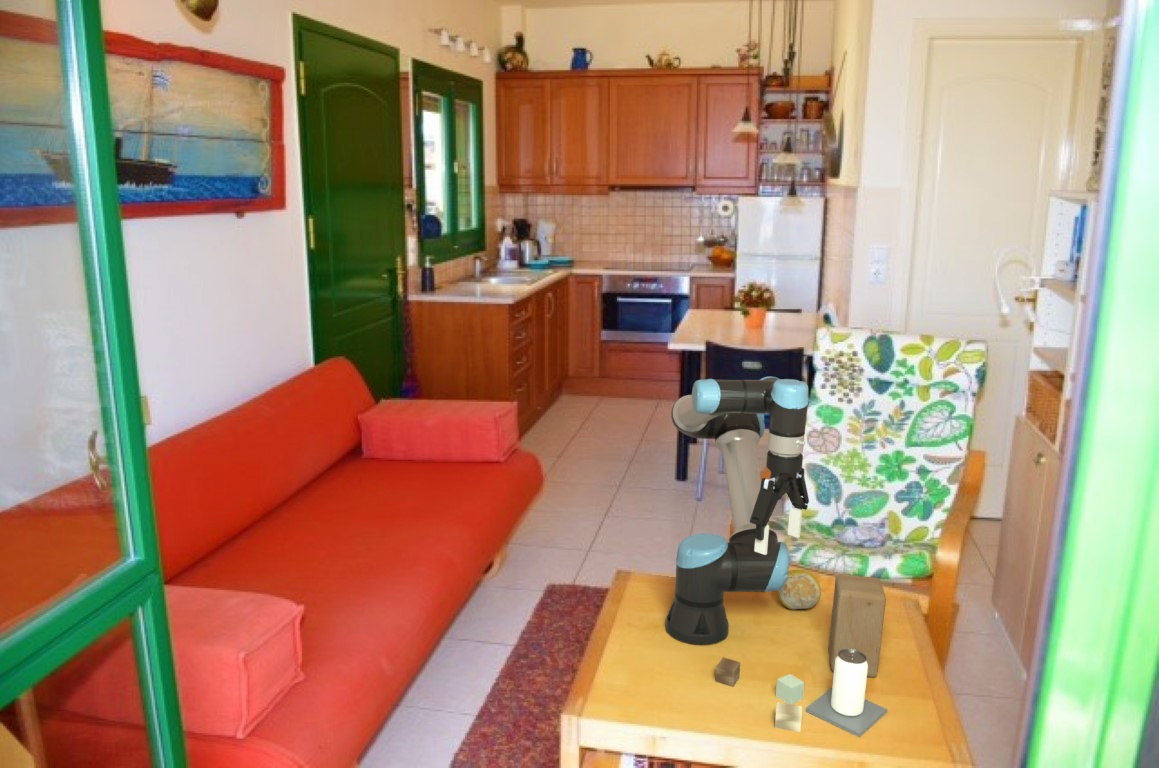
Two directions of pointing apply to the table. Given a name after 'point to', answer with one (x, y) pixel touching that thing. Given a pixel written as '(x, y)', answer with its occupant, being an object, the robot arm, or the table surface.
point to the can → (849, 682)
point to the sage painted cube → (790, 689)
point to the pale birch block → (788, 717)
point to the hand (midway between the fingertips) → (777, 544)
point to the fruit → (800, 590)
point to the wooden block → (857, 618)
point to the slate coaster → (850, 724)
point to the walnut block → (728, 672)
